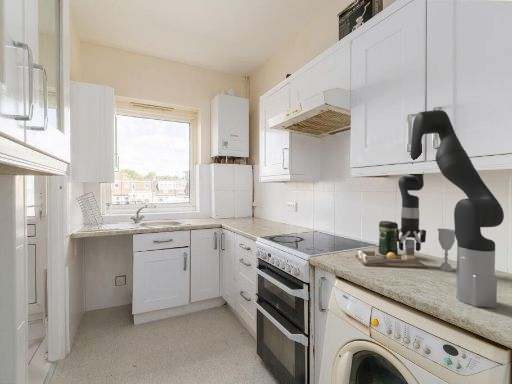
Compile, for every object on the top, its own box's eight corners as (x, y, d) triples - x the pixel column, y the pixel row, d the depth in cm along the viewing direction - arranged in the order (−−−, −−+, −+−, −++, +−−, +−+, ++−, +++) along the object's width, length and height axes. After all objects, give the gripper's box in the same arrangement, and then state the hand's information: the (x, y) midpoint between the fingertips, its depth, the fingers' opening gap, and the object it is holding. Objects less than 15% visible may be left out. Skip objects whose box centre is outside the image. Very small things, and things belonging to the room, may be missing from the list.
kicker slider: (415, 261, 120) (415, 241, 120) (406, 261, 120) (406, 240, 120) (410, 258, 125) (410, 239, 125) (401, 258, 125) (402, 238, 125)
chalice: (443, 266, 119) (443, 228, 118) (459, 270, 112) (460, 230, 112) (433, 267, 116) (433, 229, 116) (449, 272, 109) (449, 231, 109)
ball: (397, 261, 121) (397, 253, 121) (388, 261, 122) (388, 253, 122) (393, 259, 125) (393, 251, 125) (385, 259, 126) (385, 251, 126)
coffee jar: (400, 256, 136) (401, 222, 136) (388, 256, 134) (388, 222, 134) (387, 251, 145) (388, 220, 145) (375, 252, 144) (376, 220, 144)
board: (428, 268, 114) (428, 260, 114) (364, 265, 117) (364, 257, 117) (411, 259, 130) (411, 251, 130) (355, 256, 133) (355, 249, 133)
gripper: (398, 217, 119) (397, 251, 120) (430, 218, 118) (429, 253, 118) (391, 215, 127) (390, 248, 127) (421, 216, 125) (421, 249, 125)
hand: (409, 250), depth 122 cm, fingers open, 7 cm apart
